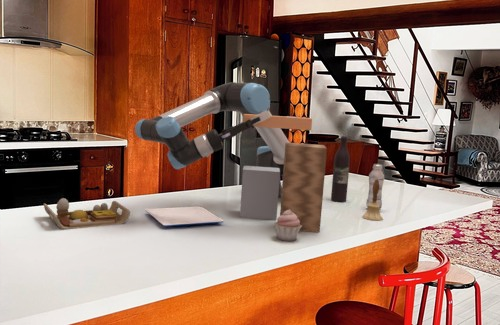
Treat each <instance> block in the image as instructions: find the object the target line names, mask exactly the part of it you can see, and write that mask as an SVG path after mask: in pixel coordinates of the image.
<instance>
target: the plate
mask: <svg viewBox="0 0 500 325" xmlns="http://www.w3.org/2000/svg"><path fill="white" fill-rule="evenodd" d="M145 212H146V213H148V214H149V215H150V216H151V217H152V218H154V219H155V220H156V221H157V222H158V223H160V224H161V225H162V226H163V227H178V226H192V225H193V226H194V225H206V224H216V223H217V224H218V223H224V222H225V220H223V219H222V218H220V217H219V216H217V215H215V214H213V212H210V211H209V210H207V209H205V208H203V207H202V206H183V207H181V206H180V207H166V208H165V207H163V208H162V207H160V208H147V209H145Z"/></svg>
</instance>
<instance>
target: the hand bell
mask: <svg viewBox="0 0 500 325" xmlns="http://www.w3.org/2000/svg"><path fill="white" fill-rule="evenodd" d="M378 192H379V180H377V179H375V182H374V184H373V200H372V203H371V204H369V205H368V208H367V207H366V208H367V209H366V210H365V213H363V215H362V218H363V219H365V220H368V221H383V220H384V218H383V216H382V215H381V212H380V210H381V209H379V205H377V204H376V201H377V194H378Z"/></svg>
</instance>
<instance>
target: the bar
mask: <svg viewBox="0 0 500 325" xmlns="http://www.w3.org/2000/svg"><path fill="white" fill-rule="evenodd" d="M255 116H257V115H253V114H244V117H243V120H242V122H243V123H244V122H246V121H248V120H250V119H251V118H253V117H255ZM312 125H313V118H311V117H298V116H288V115H287V116H282V115H281V116H280V115H272V116H270V118H268V119H266V120H264V121H262V122H260V123H258V124H256V125H254V128H255V127H269V128H280V129H286V130H287V129H289V130H300V131H301V130H304V131H312Z"/></svg>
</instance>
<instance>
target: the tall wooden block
mask: <svg viewBox="0 0 500 325" xmlns="http://www.w3.org/2000/svg"><path fill="white" fill-rule="evenodd" d="M327 150H328V148H327V147H326V146H325V145H324V144H315V143H314V144H311V143H297V142H289V143H285V156H284V169H283V176H282V182H281V185H282V196H281V197H280V198H281V199H280V213H279V216H281V215H282V214H283V213H284V212H285V211H287V210H291V212H293V213H294V214H295V215H296V216H297V217H298V219H299V221H300V225H302V227H301V228H300V230H299V231H301V232H303V231H304V232H313V233H314V232H315V233H320V232H321V221H322V211H323V210H322V209H323V199H324V198H323V197H324V188H325V178H326V177H325V175H326V164H327V162H326V161H327V154H328V153H327V152H328V151H327Z"/></svg>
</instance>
